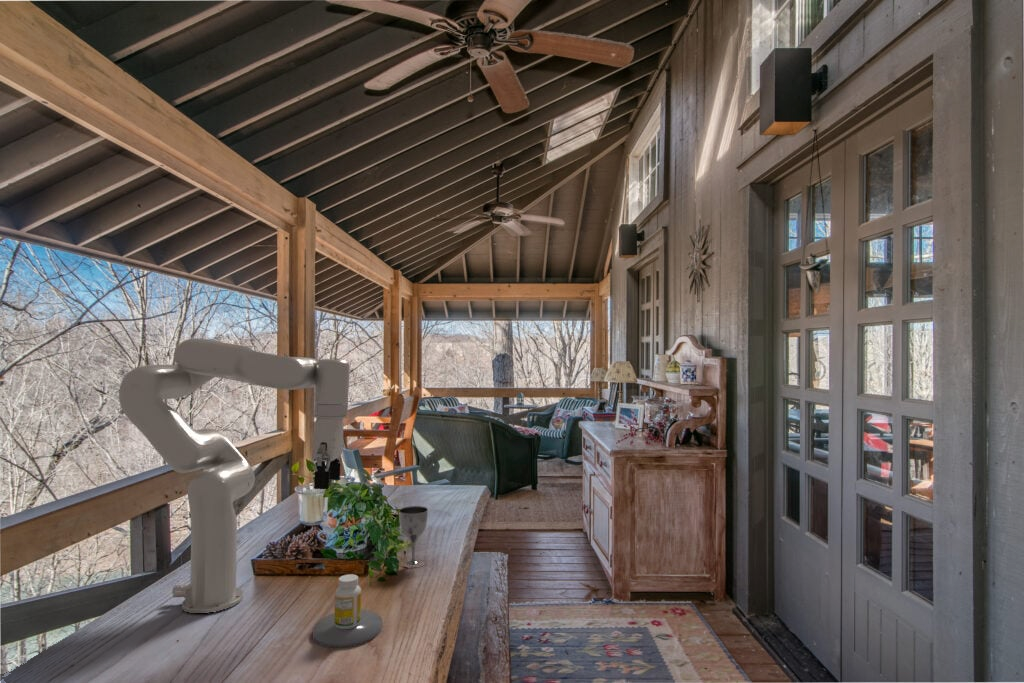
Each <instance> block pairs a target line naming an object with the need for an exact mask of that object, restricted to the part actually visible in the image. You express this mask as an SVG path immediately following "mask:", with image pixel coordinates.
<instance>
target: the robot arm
mask: <svg viewBox="0 0 1024 683" xmlns="http://www.w3.org/2000/svg"><path fill="white" fill-rule="evenodd" d="M173 359H174V364H147V365H142V366H139V367H138V366H137V367H136V368H133V369H131V370H130V371H128V372H127V373H126V374H125V375H124V377H123V378H122V380H121V382H120V385H119V390H118V401H119V404H120V405H119V406H120V407H121V410H122V412H123V414H125V416H126V417H127V419H128V420H129V421H130V422H131V423H132V424H133V425H134V427H136V428H137V429H138V430H139V431H140V432H141V434H142V435H144V437H145V438H146V439H147V440H148V442H149V443H150V444H151V446H152V447H153V448H154V450H155V451H156V452H157V453H158V454H159V455H160V457H161V458H162V459H163V460H164V461H165V462H166V463H167V465H168V466H169V467H170V468H171V469H172V470H173V471H175V473H176V472H177V473H179V474H187V473H191V472H196V471H199V470H201V469H202V471H200V472H198V473H197V474H196V475H195V476H194V477H193V478H192V480H191V481H190V483H189V485H188V489H187V501H188V506H189V513H190V525H191V526H190V527H191V528H190V530H191V532H190V533H191V534H190V535H191V537H190V539H191V540H190V541H191V542H190V573H189V574H190V576H189V577H190V582H189V583H188V584H187V585H185V584H184V585H183V584H181V585H180V584H178V585H174V586H173V588H172V597H173V598H184V600H183V601H182V603H181V609H182V611H183V610H184V611H183V612H185V613H187V612H189V613H188V614H190V613H207V612H213V611H218V612H220V611H219V610H222V611H224V610H223V609H225V610H228V609H230V608H232V607H234V606H236V605H238V604H239V603H240V602H241V601H242V600H243V599H244V592H243V591H244V590H242V589H240V588H239V587H237V560H238V559H237V556H238V555H237V554H238V553H237V551H238V550H237V549H238V520H237V514H236V511H235V507H234V502H235V501H236V500H238V499H240V498H242V497H244V496H246V495H247V494H248V493H249V492H251V490H252V489H253V488H254V485H255V482H256V477H255V476H256V475H255V472H254V470H253V467H252V466H251V464H250V463H249V461H248V460H247V459H246V458H245V457H244V456H243V454H241V452H240V451H239V450H238V449H237V447H235V445H234V444H233V443H232V442H231V441H230V440H229V438H228V437H227V436H226V435H224V434H223V433H222V432H220V431H219V430H216V429H213V428H202V429H201V428H200V429H195V428H193V427H192V426H191V425H190V424H189V423H188V422H187V421H186V420H185V418H184V417H183V416H182V415H181V413H180V412H178V410H176V409H174V408H173V407H172V406H170V405H169V404H167V403H166V402H165V401H164V400H172V399H179V398H183V397H186V396H188V395H190V394H192V393H193V392H195V391H196V390H197V389H200V387H201V388H202V386H203V385H205V384H207V383H208V382H210V381H211V380H212V379H214V378H218V379H226V380H229V381H230V380H231V381H236V382H241V383H246V384H250V385H254V386H258V387H260V386H261V387H266V388H273V389H279V390H285V391H286V390H287V391H292V390H293V391H294V390H302V389H304V390H305V389H310V388H315V390H314V391H315V392H314V408H313V410H314V411H313V413H314V414H313V418H314V419H315V424H314V429H313V430H314V431H313V439H312V450H311V460H312V461H313V462H315V463H314V464H315V466H314V483H313V488H314V489H315V490H328V489H330V481H332V480H334V481H335V480H337V481H338V480H340V479H341V465H342V463H341V462H342V461H341V460H342V459H341V455H342V454H343V447H344V446H343V445H344V425H345V424H344V419H347V418H348V409H349V389H350V388H349V386H350V384H349V383H350V373H351V372H350V367H351V366H350V363H349V362H348V361H347V360H345V359H338V358H337V359H333V358H324V359H323V358H322V359H319V358H318V359H317V358H314V357H303V356H285V355H278V354H273V353H266V352H260V351H257V350H253V349H252V347H250V346H248V345H242V344H235V343H228V342H224V341H221V340H217V339H210V338H198V337H197V338H196V337H195V338H188V339H185V340H184V341H182V342H181V343H179V344H178V345H177V346H176V347H175V350H174V353H173ZM229 607H230V608H229ZM227 608H228V609H227Z"/></svg>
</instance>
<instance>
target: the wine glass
mask: <svg viewBox="0 0 1024 683" xmlns="http://www.w3.org/2000/svg"><path fill="white" fill-rule="evenodd" d="M428 512H429V510H428V507H426V506H422V505H420V506H419V505H411V506H405V507H402V508H399V511H398V516H399V519H398V520H399V527H400V530H401V532H402V533H403V534H404V536H405V537H406V538H407V540H408V541H409V543H410V546H411V560H409V559H407V560H408V561H406V562H405V563H406V564H407V565H408V564H409V565H415V564H418V563H419V562H420V561H419V560H416V559H417V558H415V557H416V556H415V555H416V544H417V541H418V540H419V538H420V537H421V535H423V533H424V531H426V527H427V524H428V517H429V516H428V515H429V513H428Z"/></svg>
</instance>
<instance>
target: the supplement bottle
mask: <svg viewBox="0 0 1024 683" xmlns="http://www.w3.org/2000/svg"><path fill="white" fill-rule="evenodd" d="M361 607H362V588H361V587H360V585H359V576H358V575H357V574H353V573H350V574H344V575H341V576H339V577H338V587H337V588H336V590H335V591H334V613H335V620H334V623H335V627H337V628H338V629H351V628H354V627H356V626H357V625H359V623H360V621H361V610H362V608H361Z"/></svg>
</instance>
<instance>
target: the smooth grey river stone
mask: <svg viewBox="0 0 1024 683" xmlns="http://www.w3.org/2000/svg"><path fill="white" fill-rule="evenodd" d="M334 620H335V612H333V613H330V614H328V615H326V616H324V617H322V618H321V619H319V620H318V621H317V622H315V624H314V626H313V629H312V637H313V638H312V639H313V640H314V641H315V643H317V644H318V643H319V644H318V645H320V644H321V646H323V647H326V646H327V648H341V649H342V648H349V646H350V647H354V645H355V646H359V645H363V644H364V643H367V642H370V641H371V640H373V639H374V638H376V637H377V636H379V635H380V633H381V632H382V630H383V618H382V616H381V615H380V614H379V613H377V612H375V611H373V610H369V609H361V621H360V623H359V625H357V626H356V627H354V628H351V629H338V628H337V627H335V623H334Z"/></svg>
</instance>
